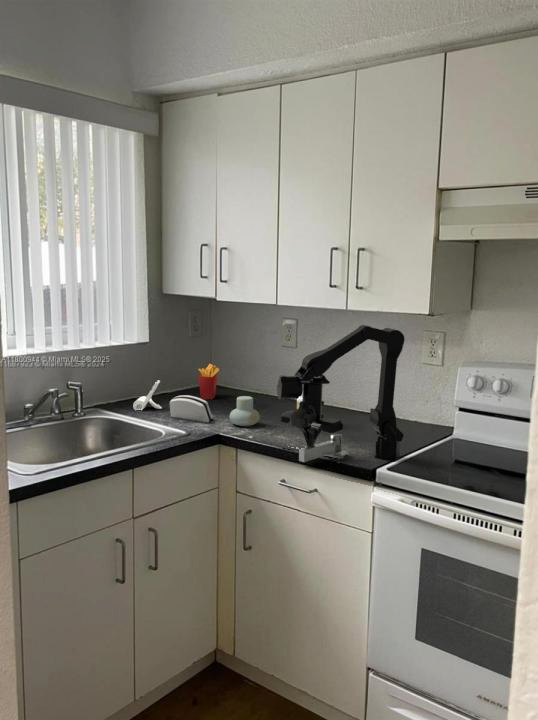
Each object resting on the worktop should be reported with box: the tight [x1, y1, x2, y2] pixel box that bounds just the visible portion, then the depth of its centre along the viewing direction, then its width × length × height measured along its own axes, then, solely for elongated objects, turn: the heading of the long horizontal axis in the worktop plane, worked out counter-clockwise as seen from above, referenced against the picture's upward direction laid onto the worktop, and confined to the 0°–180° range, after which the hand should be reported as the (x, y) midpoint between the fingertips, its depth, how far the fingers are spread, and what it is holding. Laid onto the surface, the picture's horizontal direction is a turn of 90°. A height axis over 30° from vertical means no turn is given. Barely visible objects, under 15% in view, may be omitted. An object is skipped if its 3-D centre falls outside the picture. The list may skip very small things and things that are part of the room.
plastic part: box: [132, 379, 163, 411], centre depth 261 cm, size 8×10×12 cm
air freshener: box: [229, 395, 260, 427], centre depth 240 cm, size 11×8×10 cm
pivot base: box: [326, 450, 350, 459], centre depth 205 cm, size 6×6×1 cm
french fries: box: [197, 363, 220, 401], centre depth 283 cm, size 9×8×15 cm
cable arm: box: [298, 433, 343, 463], centre depth 200 cm, size 18×4×5 cm, turn 136°
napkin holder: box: [169, 394, 215, 423], centre depth 247 cm, size 17×5×10 cm, turn 62°
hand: (310, 448), depth 199 cm, fingers closed
